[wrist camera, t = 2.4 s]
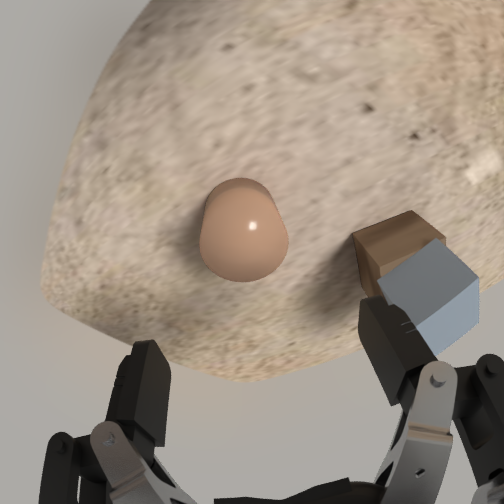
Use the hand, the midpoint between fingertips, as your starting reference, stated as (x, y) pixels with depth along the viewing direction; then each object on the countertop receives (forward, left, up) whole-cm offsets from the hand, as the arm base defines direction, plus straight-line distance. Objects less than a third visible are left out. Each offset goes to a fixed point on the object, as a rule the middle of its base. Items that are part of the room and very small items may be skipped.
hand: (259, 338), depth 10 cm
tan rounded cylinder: (0, 0, -12) cm, 12 cm away
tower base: (+6, +12, -12) cm, 18 cm away
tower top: (+6, +12, -7) cm, 15 cm away
